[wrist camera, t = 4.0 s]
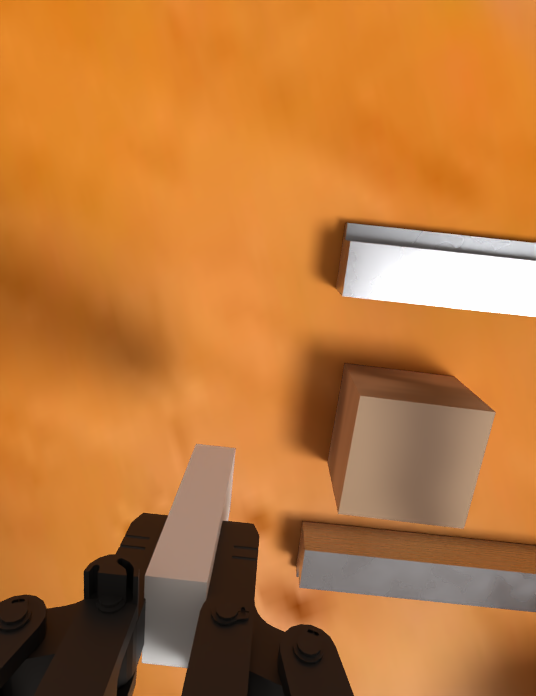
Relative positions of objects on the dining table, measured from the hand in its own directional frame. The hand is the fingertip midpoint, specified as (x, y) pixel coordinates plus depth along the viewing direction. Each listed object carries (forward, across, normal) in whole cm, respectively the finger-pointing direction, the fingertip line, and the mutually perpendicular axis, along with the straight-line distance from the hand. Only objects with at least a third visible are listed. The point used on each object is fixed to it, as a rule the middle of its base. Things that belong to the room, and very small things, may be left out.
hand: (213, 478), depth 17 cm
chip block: (+9, +9, 0) cm, 12 cm away
